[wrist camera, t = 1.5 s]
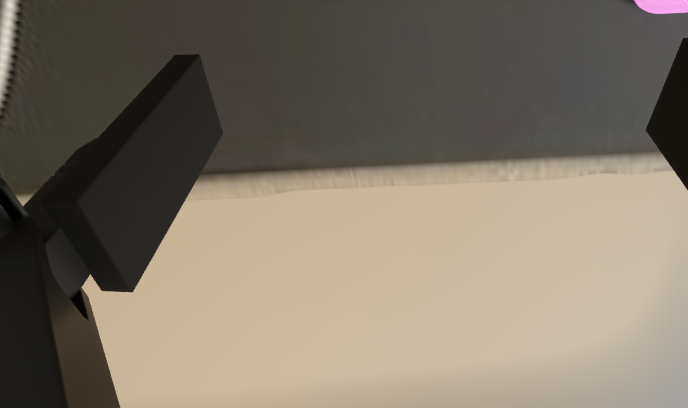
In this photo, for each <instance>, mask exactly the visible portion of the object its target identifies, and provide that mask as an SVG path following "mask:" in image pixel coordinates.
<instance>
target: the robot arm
mask: <svg viewBox="0 0 688 408" xmlns="http://www.w3.org/2000/svg"><path fill="white" fill-rule="evenodd" d="M646 131H647V133H648V134H649V136H650V137H651V138H652V140H653V141H654V143H655V144H656V146H657V147H658V148H659V150H660V151H661V153H662V154H663V156H664V157H665V158H666V160H667V161H668V163H669V164H670V166H671V167H672V168H673V170H674V171H675V173H676V174H677V176H678V177H679V178H680V180H681V181H682V183H683V184H684V186H685V187H686V188H687V190H688V38H683V40H682V42H681V45H680V47H679V50H678V52H677V55H676V57H675V60H674V62H673V65H672V67H671V69H670V72H669V74H668V77H667V79H666V82H665V84H664V87H663V89H662V91H661V94H660V96H659V99H658V101H657V104H656V106H655V109H654V111H653V113H652V116H651V118H650V121H649V123H648V126H647V128H646ZM222 134H223V132H222V129H221V125H220V122H219V119H218V115H217V112H216V109H215V105H214V102H213V99H212V95H211V92H210V89H209V85H208V82H207V79H206V75H205V72H204V68H203V65H202V62H201V58H200V55H199V54H194V55H175V56H174V57H173V58H172V59H171V60H170V61H169V62H168V63H167V64H166V65H165V66H164V68H163V69H162V70H161V71H160V72H159V73H158V74H157V75H156V76H155V77H154V78H153V79H152V80H151V81H150V83H149V84H148V85H147V86H146V87H145V88H144V89H143V90H142V91H141V92H140V93H139V94H138V95H137V97H136V98H135V99H134V100H133V101H132V102H131V103H130V104H129V105H128V106H127V107H126V108H125V109H124V111H123V112H122V113H121V114H120V115H119V116H118V117H117V118H116V119H115V120H114V121H113V122H112V123H111V124H110V126H109V127H108V128H107V129H106V130H105V131H104V132H103V133H102V134H101V135H100V136H99V137H98V138H95V139H94V140H92V141H91V142H89V143H87V144H86V145H84V146H83V147H81V148H79V149H78V150H77V151H76V152H75V153H74V154H73V155H72V156H71V157H70V158H69V159H68V160H67V161H66V162H65V165H62V166H61V167H60V168H59V169H58V170H57V171H56V173H55V176H52V177H51V178H50V179H49V180H48V181H47V182H46V183H45V184H44V185H43V186H42V187H41V188H40V189H39V190H38V191H37V192H36V193H35V194H34V195H33V197H32V198H31V199H30V200H29V201H28V202H27V203H26V204H25V205H24V206H22V205H21V203H20V202H19V200H18V199H17V198H16V196H15V195H14V194H13V192H12V191H11V189H10V188H9V187H8V185H7V184H6V182H5V181H4V180H3V179H0V408H120V405H119V402H118V398H117V395H116V391H115V388H114V384H113V381H112V378H111V374H110V371H109V367H108V364H107V360H106V357H105V354H104V350H103V346H102V343H101V339H100V336H99V333H98V329H97V326H96V322H95V319H94V316H93V312H92V308H91V305H90V302H89V298H88V296H87V295H86V293H85V292H84V290H83V289H82V288H81V287H82V286H83V284H84V283H85V281H86V280H87V278H88V277H89V275H90V274H91V276H92V277H93V278H94V280H95V281H96V283H97V284H98V286H99V287H100V289H101V290H102V291H116V292H133V291H134V289H135V287H136V285H137V284H138V282H139V280H140V279H141V277H142V275H143V273H144V271H145V270H146V268H147V266H148V264H149V262H150V261H151V259H152V257H153V256H154V254H155V252H156V250H157V249H158V247H159V245H160V243H161V242H162V240H163V238H164V236H165V235H166V233H167V231H168V229H169V227H170V226H171V224H172V222H173V221H174V219H175V217H176V215H177V213H178V212H179V210H180V208H181V206H182V205H183V203H184V201H185V199H186V198H187V196H188V194H189V192H190V191H191V189H192V187H193V185H194V184H195V182H196V180H197V178H198V177H199V175H200V173H201V171H202V170H203V168H204V166H205V164H206V163H207V161H208V159H209V157H210V156H211V154H212V152H213V150H214V148H215V147H216V145H217V143H218V141H219V140H220V138H221V136H222Z"/></svg>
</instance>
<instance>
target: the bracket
mask: <svg viewBox="0 0 688 408" xmlns="http://www.w3.org/2000/svg"><path fill="white" fill-rule="evenodd" d="M633 1H634V2H635V3H636V4H637V5H638V6H639V7H640V8H641V9H643V10H645V11H647V12H649V13H655V14H667V13H684V12H688V0H633Z"/></svg>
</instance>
